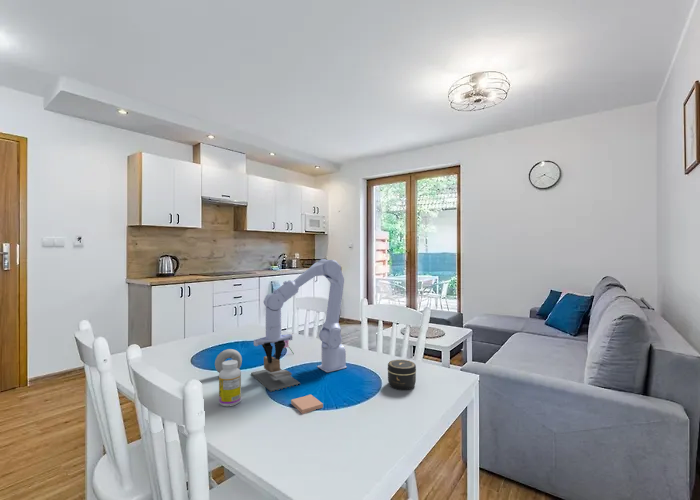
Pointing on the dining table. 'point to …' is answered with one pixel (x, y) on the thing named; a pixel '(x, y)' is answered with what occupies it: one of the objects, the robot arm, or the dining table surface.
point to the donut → (224, 355)
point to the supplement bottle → (230, 383)
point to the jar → (401, 374)
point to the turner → (275, 368)
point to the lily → (287, 344)
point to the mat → (274, 380)
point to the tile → (306, 403)
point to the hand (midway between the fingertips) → (273, 361)
